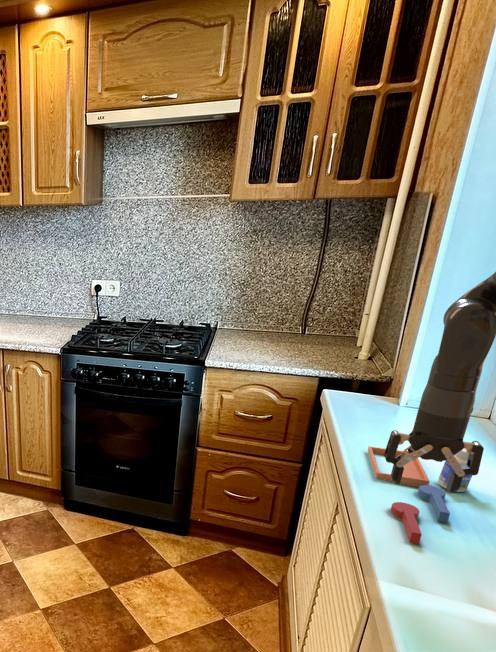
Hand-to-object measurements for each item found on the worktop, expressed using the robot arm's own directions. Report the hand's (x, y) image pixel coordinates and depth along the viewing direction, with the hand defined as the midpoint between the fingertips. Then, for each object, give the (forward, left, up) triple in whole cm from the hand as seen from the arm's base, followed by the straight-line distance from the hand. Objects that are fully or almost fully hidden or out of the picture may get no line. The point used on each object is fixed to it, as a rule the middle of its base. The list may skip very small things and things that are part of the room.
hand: (422, 486), depth 102 cm
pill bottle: (-20, -20, -11) cm, 31 cm away
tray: (-12, -28, -11) cm, 33 cm away
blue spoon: (-11, -11, -11) cm, 19 cm away
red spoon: (-1, -3, -11) cm, 11 cm away
